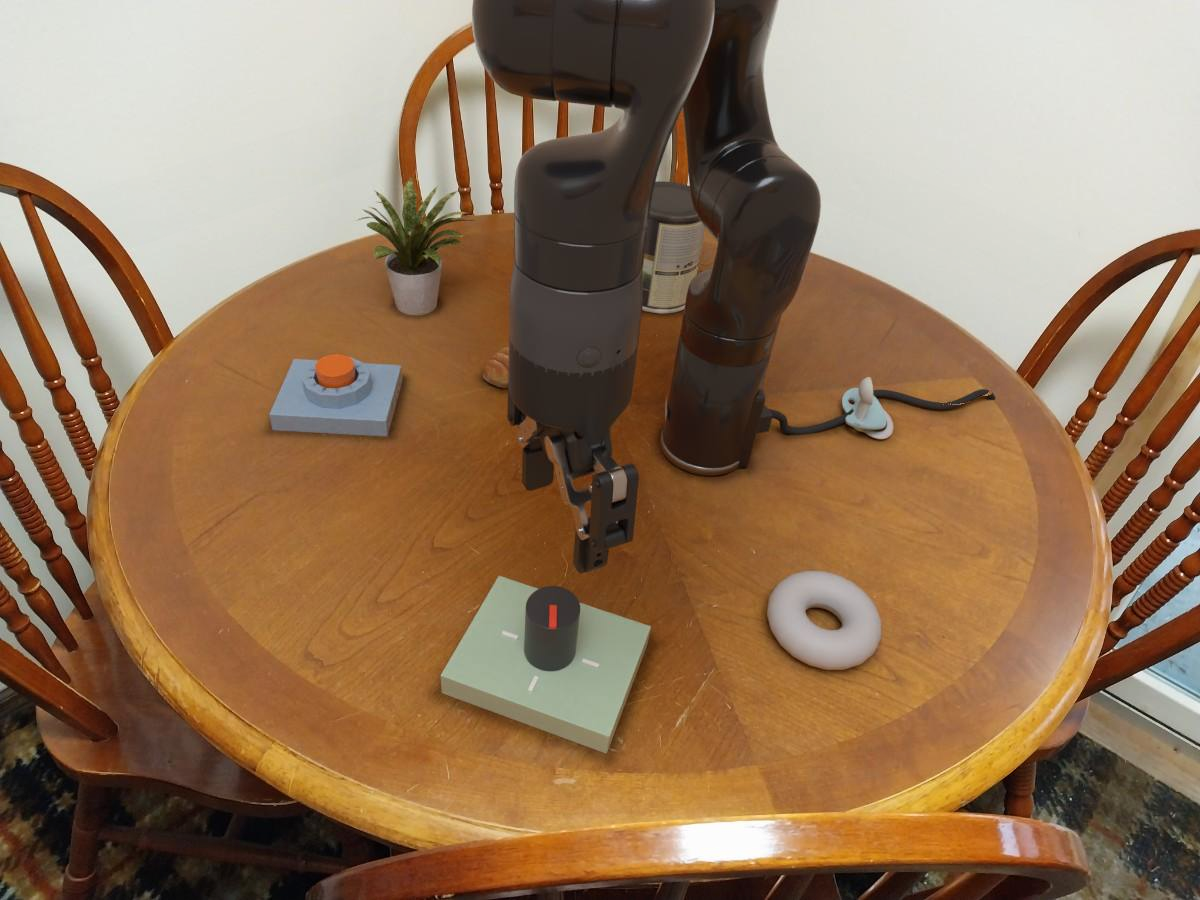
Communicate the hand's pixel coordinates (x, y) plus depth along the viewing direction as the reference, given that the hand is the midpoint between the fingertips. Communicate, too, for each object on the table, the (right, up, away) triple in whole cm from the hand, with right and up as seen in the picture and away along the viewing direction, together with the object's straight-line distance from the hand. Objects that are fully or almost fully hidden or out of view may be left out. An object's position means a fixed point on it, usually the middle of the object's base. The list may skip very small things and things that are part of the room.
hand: (562, 523), depth 59 cm
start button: (-26, +13, +32) cm, 43 cm away
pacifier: (+34, +8, +40) cm, 53 cm away
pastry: (-6, +14, +41) cm, 44 cm away
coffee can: (+10, +27, +58) cm, 64 cm away
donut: (+22, -11, +16) cm, 30 cm away
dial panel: (-2, -13, +11) cm, 17 cm away
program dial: (-1, -11, +9) cm, 14 cm away
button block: (-26, +10, +34) cm, 44 cm away
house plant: (-21, +23, +49) cm, 59 cm away
